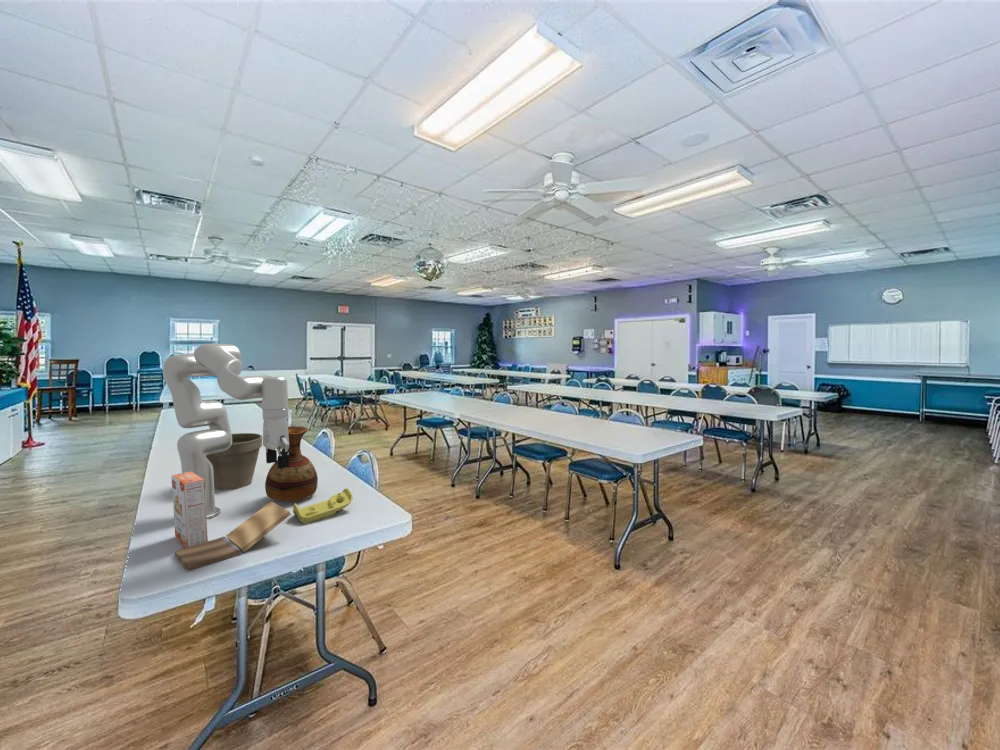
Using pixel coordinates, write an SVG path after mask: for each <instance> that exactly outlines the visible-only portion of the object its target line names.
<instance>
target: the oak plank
mask: <svg viewBox="0 0 1000 750" xmlns="http://www.w3.org/2000/svg"><path fill="white" fill-rule="evenodd" d="M291 515H292V514H291V512H290V510H288V509H286V508H284V506H283V507H282V506H281V505H279V504H277V503H276V502H274V501H272V500H271V501H269V503H267V504H266V505H264V506H263V507H262V508H260V509H259V510H258V511H256V512H255V513H254V514H253V515H251V516H250V517H249V518H248V519H246V520H244V521H243V522H242V523H240V524H239V525H237V526H236V528H234V529H232V530H231V531H230V532H229V533H227V534H226V535H225V537H226V538H227V539H228V540H229V541H231V542H232V543H233V544H234V545H235V546H236V547H238V548H239V549H240V551H242V552H243V553H245V552H247V551H248V550H249V549H251V548H252V546H254V545H255V544H257V543H258V542H259V541H260V540H262V538H264V537H265V536H266V535H268V534H270V532H271V531H273V530H274V529H275V528H277V526H279V525H280V524H281V523H283V522H284V521H285V520H286V519H288V518H289V517H291Z"/></svg>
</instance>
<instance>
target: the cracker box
mask: <svg viewBox="0 0 1000 750" xmlns="http://www.w3.org/2000/svg"><path fill="white" fill-rule="evenodd" d="M171 489H172V505H173V506H172V507H173V524H174V536H175V538H177V540H178V541H179V542H180V544H182V545H183V546H184V548H187V547H190V546H193V545H197V544H200V543H204V542H207V541H209V540H208V524H207V523H208V519H206V499H205V480H204V479H202V478H201V477H199V476H197V475H196V474H194V473H193V472H187V473H182V472H181V473H176V474H172V475H171Z"/></svg>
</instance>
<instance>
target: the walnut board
mask: <svg viewBox="0 0 1000 750" xmlns="http://www.w3.org/2000/svg"><path fill="white" fill-rule="evenodd" d="M239 555H240V556H241V549H239V548H238V547H237V546H236V545H235V544H234V543H232V542H231V541H230V540H229V539H228V538H227V537H226V536H221V537H218V538H215V539H211V540H208V541H207V542H204V543H200V544H197V545H193V546H190V547H187V548H186V547H184V548H180V549H176V550H174V556H175V558H176V557H177V558H176V559H177V560H178V561H179V562H180V564H181V563H182V564H181V565H182V566H183V568H184V569H185V570H186V571H187V572H191V571H194V570H197V569H200V568H204V567H206V566H208V565H212V564H215V563H218V562H221V561H224V560H228V559H231V558H233V557H237V556H239Z"/></svg>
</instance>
